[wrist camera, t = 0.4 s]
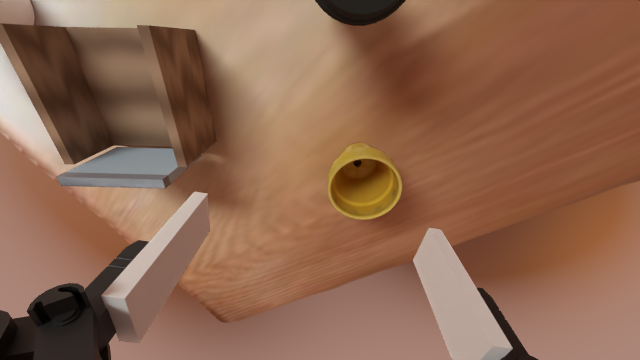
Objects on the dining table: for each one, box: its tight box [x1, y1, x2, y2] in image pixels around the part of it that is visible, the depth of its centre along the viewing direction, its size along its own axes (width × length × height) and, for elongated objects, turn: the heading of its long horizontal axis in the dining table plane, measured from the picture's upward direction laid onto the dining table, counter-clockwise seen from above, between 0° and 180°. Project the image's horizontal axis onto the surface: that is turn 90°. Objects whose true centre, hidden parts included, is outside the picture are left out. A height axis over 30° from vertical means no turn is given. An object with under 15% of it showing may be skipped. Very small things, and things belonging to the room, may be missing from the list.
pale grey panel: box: [57, 147, 201, 189], centre depth 35 cm, size 1×13×10 cm, turn 90°
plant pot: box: [327, 143, 402, 220], centre depth 38 cm, size 10×10×10 cm
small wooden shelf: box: [0, 23, 217, 167], centre depth 33 cm, size 16×16×10 cm
